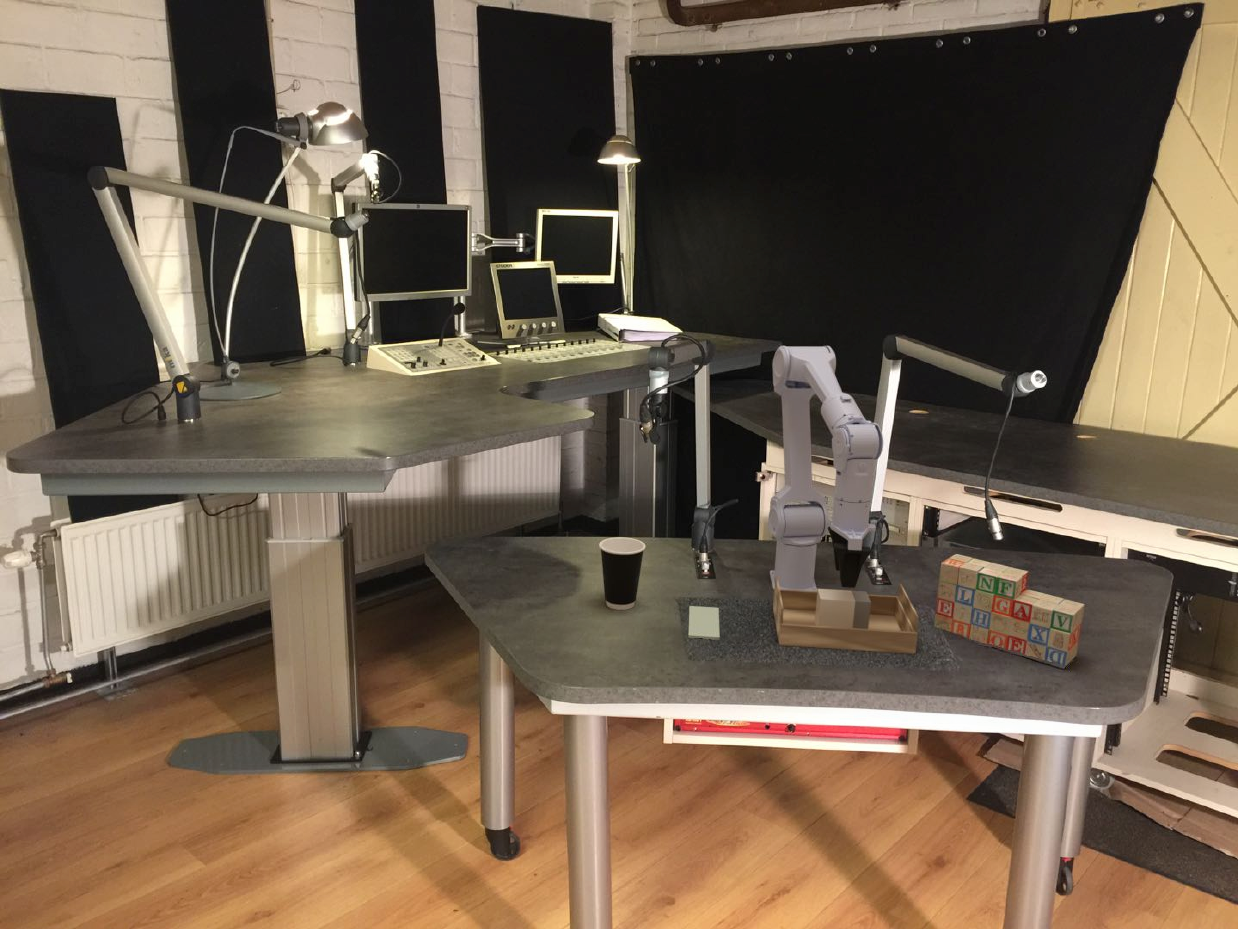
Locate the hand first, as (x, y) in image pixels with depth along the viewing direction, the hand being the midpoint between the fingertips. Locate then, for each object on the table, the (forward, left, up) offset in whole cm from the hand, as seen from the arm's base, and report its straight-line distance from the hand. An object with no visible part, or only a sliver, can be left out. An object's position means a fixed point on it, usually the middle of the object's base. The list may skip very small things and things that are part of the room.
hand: (845, 578), depth 162 cm
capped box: (0, 0, -9) cm, 9 cm away
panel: (0, -19, -10) cm, 21 cm away
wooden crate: (0, 0, -10) cm, 10 cm away
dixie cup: (-6, -37, -10) cm, 39 cm away
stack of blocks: (0, +26, -10) cm, 28 cm away
